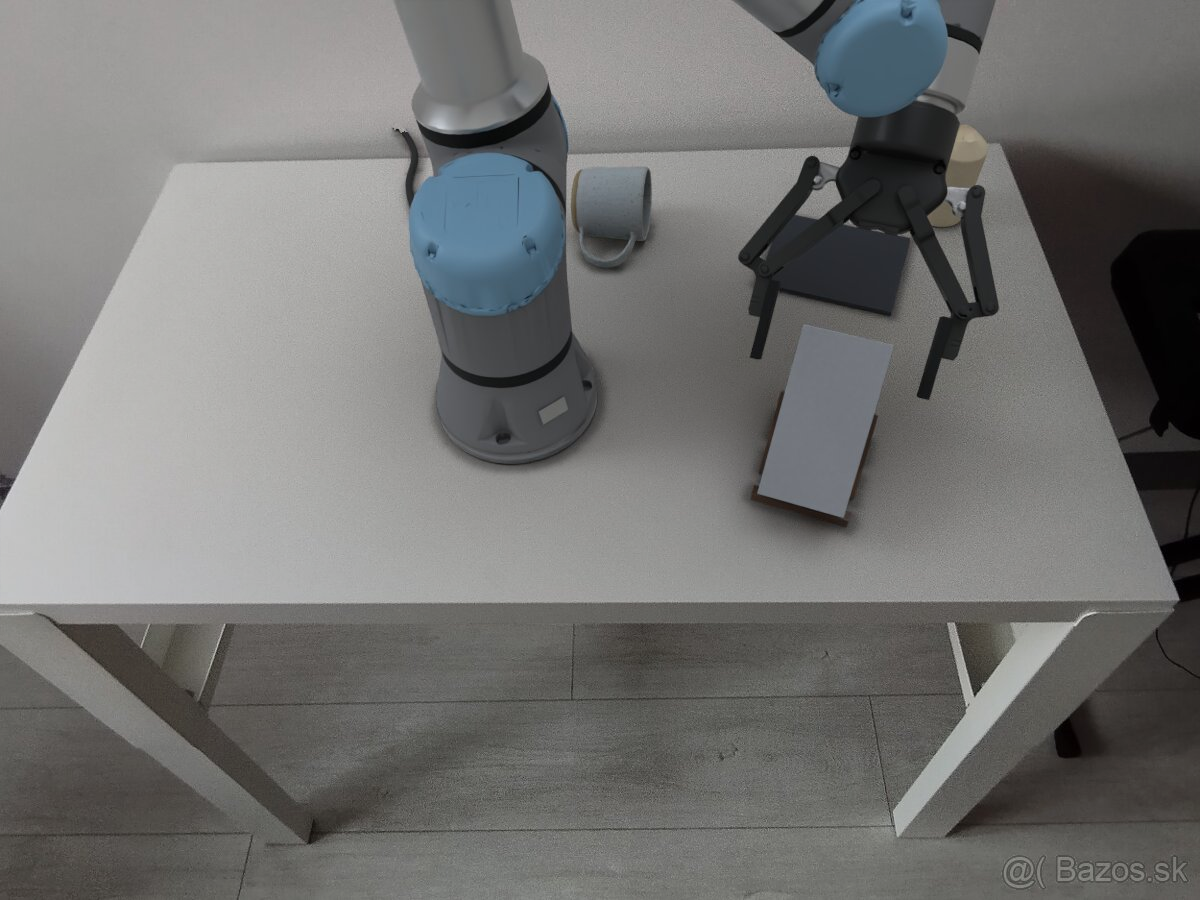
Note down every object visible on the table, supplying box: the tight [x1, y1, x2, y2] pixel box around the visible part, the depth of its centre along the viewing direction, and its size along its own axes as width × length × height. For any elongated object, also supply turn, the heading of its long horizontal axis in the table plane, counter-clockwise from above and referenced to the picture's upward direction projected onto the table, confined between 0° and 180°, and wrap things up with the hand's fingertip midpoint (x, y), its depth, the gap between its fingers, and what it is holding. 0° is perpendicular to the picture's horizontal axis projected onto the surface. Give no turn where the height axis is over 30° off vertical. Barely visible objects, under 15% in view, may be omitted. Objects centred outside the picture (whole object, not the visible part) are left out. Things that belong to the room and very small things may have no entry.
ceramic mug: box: [570, 166, 653, 268], centre depth 91 cm, size 11×8×8 cm
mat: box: [765, 214, 911, 316], centre depth 90 cm, size 14×12×1 cm
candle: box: [927, 124, 990, 228], centre depth 91 cm, size 6×6×10 cm
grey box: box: [757, 323, 895, 518], centre depth 69 cm, size 14×7×14 cm, turn 159°
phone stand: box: [749, 389, 879, 528], centre depth 73 cm, size 10×8×7 cm
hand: (836, 378), depth 69 cm, fingers open, 13 cm apart
